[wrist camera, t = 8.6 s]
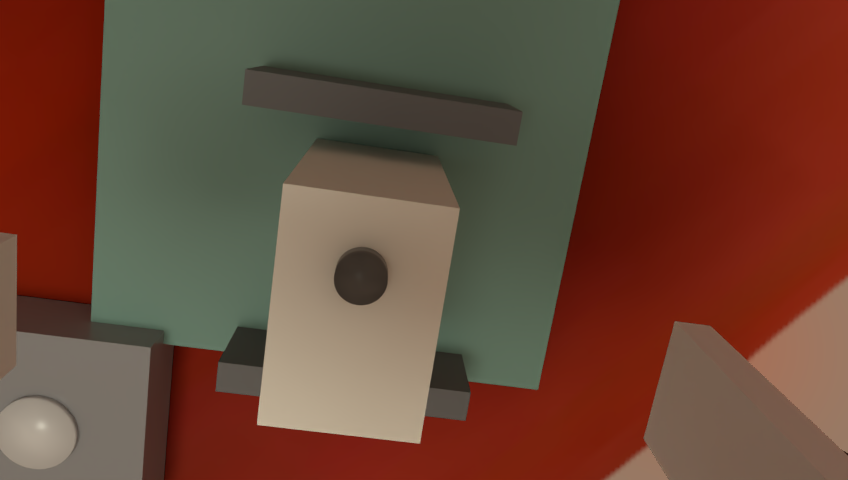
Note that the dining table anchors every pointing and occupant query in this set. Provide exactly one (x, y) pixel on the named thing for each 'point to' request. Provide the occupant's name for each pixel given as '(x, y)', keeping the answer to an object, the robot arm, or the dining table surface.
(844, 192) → the dining table surface
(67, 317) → the button
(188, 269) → the board
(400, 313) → the plug
